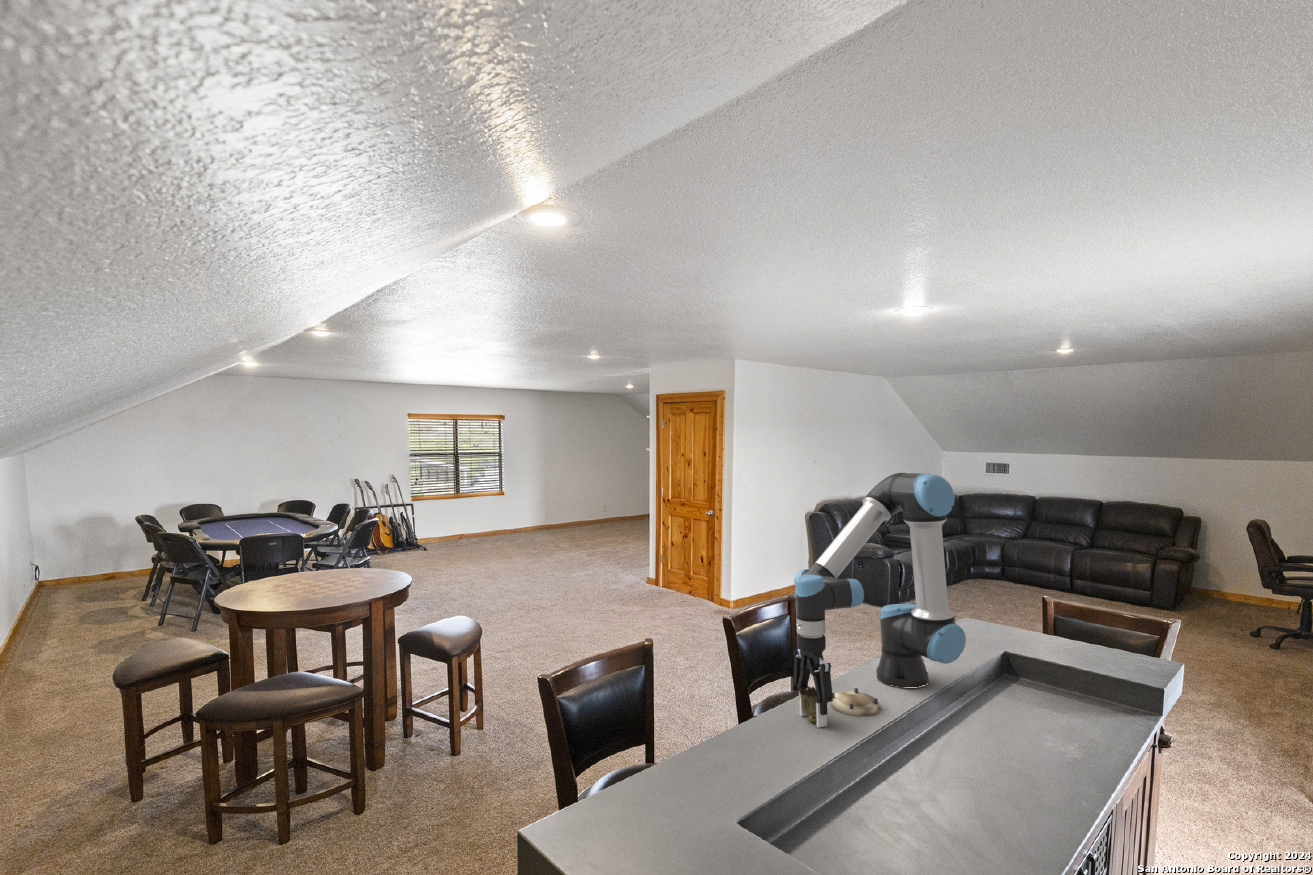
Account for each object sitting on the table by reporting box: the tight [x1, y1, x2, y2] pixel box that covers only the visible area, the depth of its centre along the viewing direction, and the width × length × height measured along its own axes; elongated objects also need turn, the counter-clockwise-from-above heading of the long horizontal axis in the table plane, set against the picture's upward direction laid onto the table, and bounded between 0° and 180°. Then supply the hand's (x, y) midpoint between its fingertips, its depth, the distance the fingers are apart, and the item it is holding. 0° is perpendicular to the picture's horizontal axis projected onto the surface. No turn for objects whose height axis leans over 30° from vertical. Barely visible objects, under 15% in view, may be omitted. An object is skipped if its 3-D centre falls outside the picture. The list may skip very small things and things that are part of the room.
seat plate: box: [829, 687, 879, 717], centre depth 177 cm, size 13×13×3 cm
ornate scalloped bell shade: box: [798, 685, 818, 724], centre depth 168 cm, size 8×7×8 cm
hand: (813, 719), depth 168 cm, fingers closed on ornate scalloped bell shade, 7 cm apart
